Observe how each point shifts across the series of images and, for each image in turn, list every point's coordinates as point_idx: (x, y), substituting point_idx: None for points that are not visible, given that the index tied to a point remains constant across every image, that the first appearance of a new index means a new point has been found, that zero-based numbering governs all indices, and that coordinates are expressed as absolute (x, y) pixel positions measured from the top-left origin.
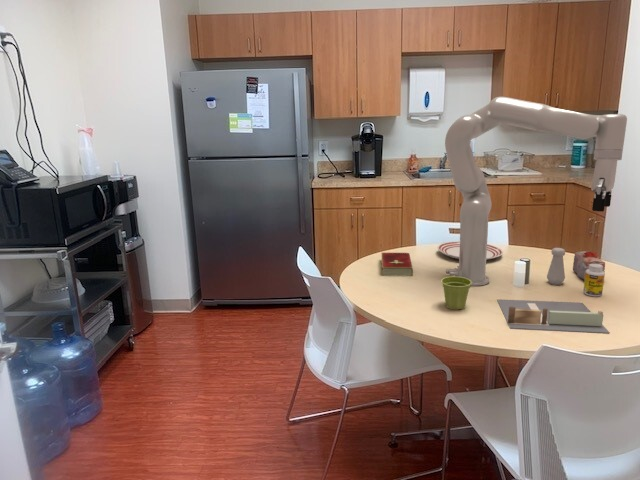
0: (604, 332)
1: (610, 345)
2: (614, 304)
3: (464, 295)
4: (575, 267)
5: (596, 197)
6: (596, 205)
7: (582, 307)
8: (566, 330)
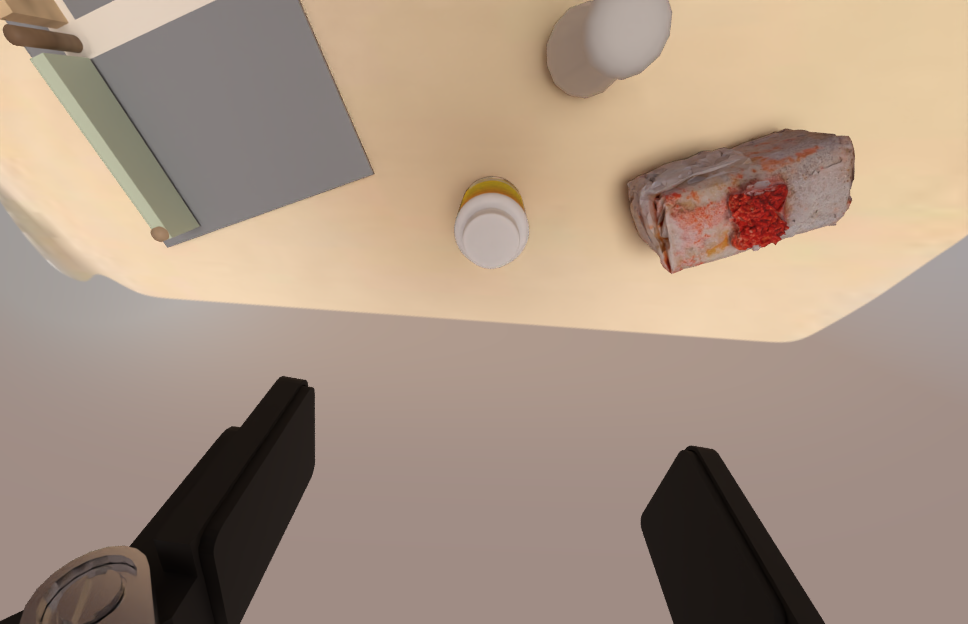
0: None
1: (92, 245)
2: (419, 269)
3: None
4: (756, 142)
5: (56, 601)
6: (205, 466)
7: (324, 174)
8: None
